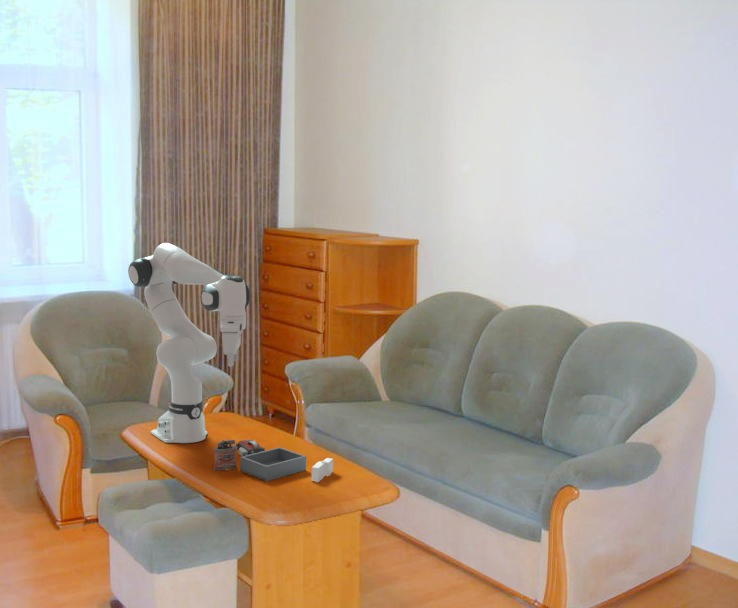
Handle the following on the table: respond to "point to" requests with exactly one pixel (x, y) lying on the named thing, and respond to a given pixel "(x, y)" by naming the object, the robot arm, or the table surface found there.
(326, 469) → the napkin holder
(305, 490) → the table surface
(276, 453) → the grey tray
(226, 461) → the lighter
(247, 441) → the walkie-talkie
